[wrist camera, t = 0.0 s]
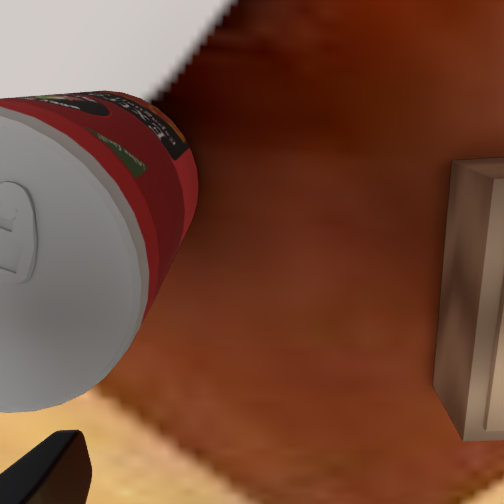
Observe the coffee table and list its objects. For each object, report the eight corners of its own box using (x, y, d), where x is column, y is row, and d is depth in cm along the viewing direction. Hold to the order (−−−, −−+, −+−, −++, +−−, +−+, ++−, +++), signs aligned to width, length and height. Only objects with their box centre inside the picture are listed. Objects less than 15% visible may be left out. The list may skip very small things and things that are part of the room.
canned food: (210, 103, 20) (153, 132, 10) (192, 272, 23) (134, 434, 12) (31, 76, 20) (-224, 77, 9) (35, 250, 22) (-156, 398, 12)
